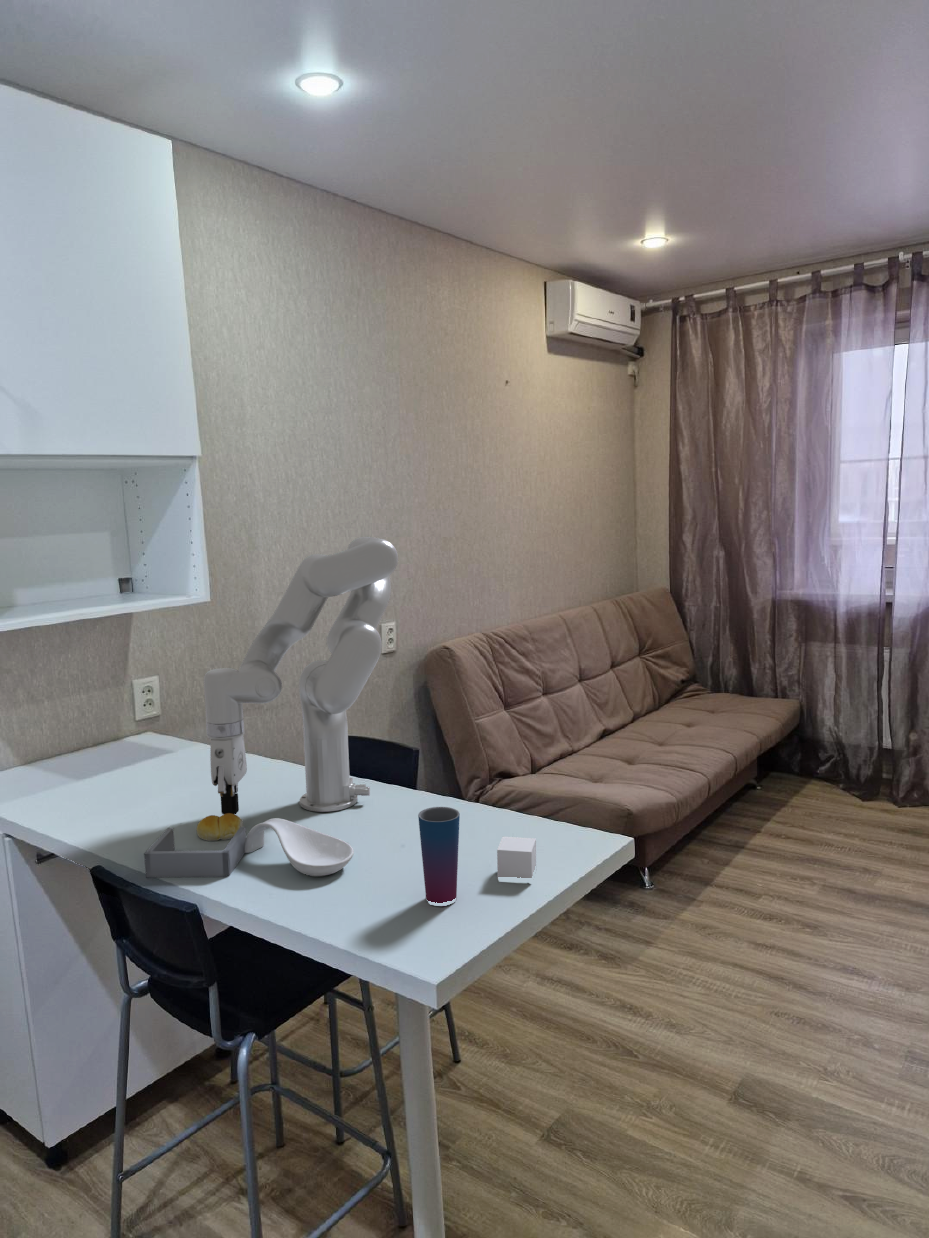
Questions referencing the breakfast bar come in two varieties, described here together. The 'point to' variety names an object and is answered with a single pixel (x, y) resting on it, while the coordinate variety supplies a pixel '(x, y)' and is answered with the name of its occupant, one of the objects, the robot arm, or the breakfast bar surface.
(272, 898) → the breakfast bar surface
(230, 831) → the bread roll
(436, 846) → the cup
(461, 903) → the breakfast bar surface
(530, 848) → the white cube
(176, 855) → the box
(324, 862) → the spoon rest
